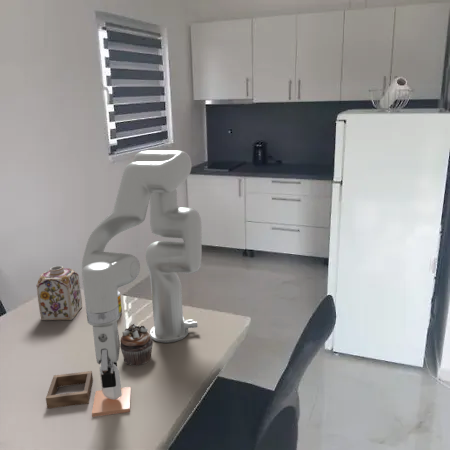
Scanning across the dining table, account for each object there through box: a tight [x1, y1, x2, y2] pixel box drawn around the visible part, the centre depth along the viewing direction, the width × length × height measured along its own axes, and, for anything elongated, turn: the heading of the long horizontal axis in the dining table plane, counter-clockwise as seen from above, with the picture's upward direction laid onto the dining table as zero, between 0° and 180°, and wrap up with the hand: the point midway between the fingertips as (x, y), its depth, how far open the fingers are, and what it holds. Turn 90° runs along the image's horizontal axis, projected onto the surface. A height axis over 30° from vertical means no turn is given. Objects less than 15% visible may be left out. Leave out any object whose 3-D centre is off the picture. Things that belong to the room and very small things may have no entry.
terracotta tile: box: [91, 386, 132, 418], centre depth 113 cm, size 9×9×1 cm
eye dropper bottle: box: [99, 358, 122, 400], centre depth 111 cm, size 4×6×12 cm
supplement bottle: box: [117, 288, 123, 316], centre depth 161 cm, size 6×6×10 cm
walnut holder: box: [45, 370, 94, 410], centre depth 117 cm, size 10×10×3 cm
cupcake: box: [120, 323, 154, 366], centre depth 132 cm, size 10×10×10 cm
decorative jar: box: [36, 265, 83, 321], centre depth 162 cm, size 12×12×18 cm
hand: (110, 378), depth 111 cm, fingers closed on eye dropper bottle, 5 cm apart
